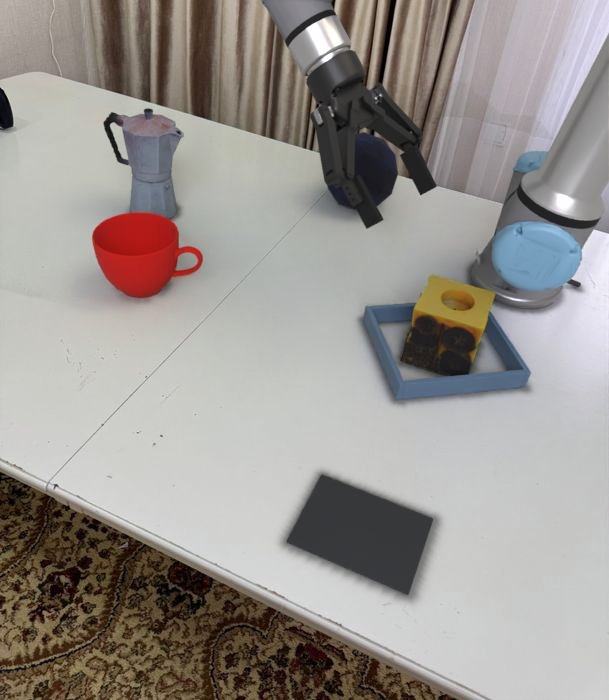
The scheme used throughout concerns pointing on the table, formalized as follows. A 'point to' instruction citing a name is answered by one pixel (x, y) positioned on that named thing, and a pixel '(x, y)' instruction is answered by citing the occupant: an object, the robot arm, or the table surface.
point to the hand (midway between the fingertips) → (403, 207)
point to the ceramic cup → (140, 252)
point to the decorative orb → (371, 169)
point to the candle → (447, 326)
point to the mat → (362, 533)
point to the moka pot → (148, 159)
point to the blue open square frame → (448, 384)
